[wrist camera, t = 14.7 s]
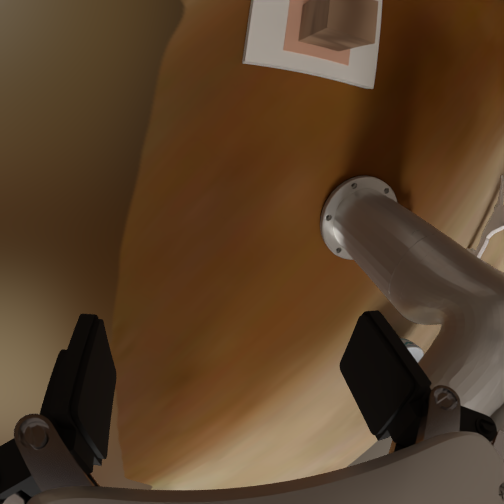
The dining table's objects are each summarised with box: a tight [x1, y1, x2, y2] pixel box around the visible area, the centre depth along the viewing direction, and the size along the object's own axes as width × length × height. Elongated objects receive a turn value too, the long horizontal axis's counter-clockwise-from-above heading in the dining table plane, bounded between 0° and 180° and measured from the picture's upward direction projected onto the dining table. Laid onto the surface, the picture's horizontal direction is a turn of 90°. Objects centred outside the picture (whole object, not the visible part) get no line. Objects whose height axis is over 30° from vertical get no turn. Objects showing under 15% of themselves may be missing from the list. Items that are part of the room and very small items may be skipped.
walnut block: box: [298, 0, 378, 52], centre depth 23 cm, size 5×5×8 cm
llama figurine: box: [466, 175, 504, 258], centre depth 45 cm, size 2×11×18 cm
